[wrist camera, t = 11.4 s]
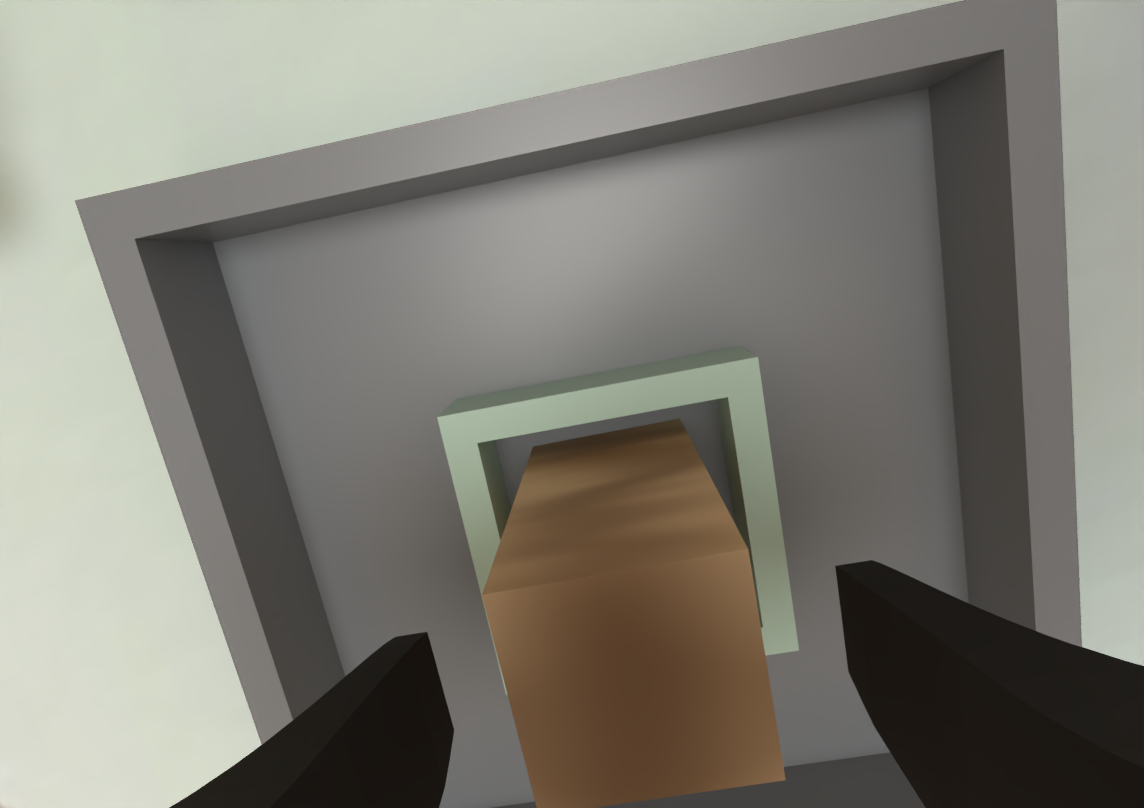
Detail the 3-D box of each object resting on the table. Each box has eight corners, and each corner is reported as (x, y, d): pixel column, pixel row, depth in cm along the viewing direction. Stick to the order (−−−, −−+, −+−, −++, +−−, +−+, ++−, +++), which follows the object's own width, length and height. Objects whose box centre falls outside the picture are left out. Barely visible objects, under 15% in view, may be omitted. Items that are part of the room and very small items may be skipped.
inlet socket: (739, 345, 17) (757, 357, 15) (777, 608, 18) (799, 650, 16) (454, 399, 17) (437, 417, 15) (515, 650, 19) (506, 694, 17)
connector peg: (679, 418, 17) (748, 549, 9) (704, 555, 18) (785, 780, 10) (532, 446, 18) (482, 595, 10) (563, 579, 18) (538, 815, 11)
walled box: (955, 41, 16) (1055, -21, 12) (1004, 749, 20) (1089, 851, 16) (178, 212, 17) (74, 200, 14) (373, 835, 21) (330, 945, 18)
